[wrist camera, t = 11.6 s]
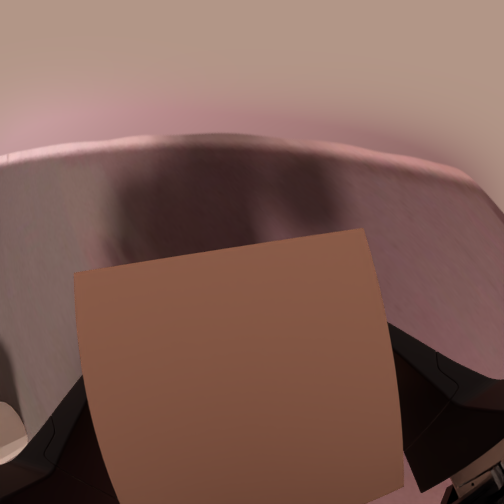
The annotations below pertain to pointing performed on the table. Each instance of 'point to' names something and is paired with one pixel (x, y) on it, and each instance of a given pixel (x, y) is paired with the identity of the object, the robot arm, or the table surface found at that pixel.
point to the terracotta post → (243, 375)
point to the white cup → (10, 433)
